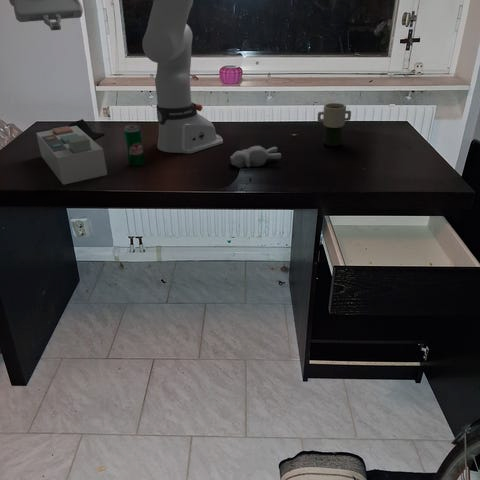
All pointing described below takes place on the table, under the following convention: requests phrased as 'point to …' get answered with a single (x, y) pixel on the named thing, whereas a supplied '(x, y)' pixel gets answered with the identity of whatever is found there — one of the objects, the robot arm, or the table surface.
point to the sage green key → (79, 144)
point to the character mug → (333, 122)
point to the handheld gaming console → (86, 129)
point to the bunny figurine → (253, 156)
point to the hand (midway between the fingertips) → (56, 28)
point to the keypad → (71, 157)
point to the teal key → (64, 138)
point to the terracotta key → (62, 130)
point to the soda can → (134, 145)
